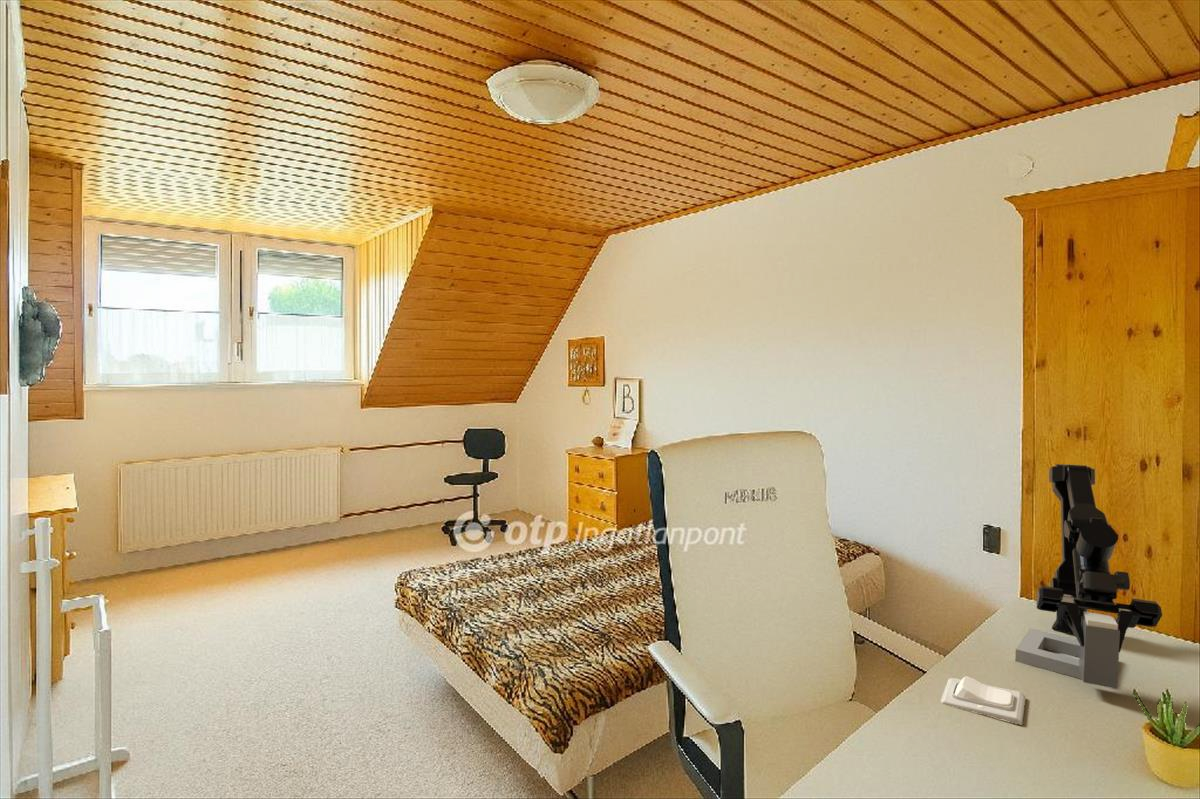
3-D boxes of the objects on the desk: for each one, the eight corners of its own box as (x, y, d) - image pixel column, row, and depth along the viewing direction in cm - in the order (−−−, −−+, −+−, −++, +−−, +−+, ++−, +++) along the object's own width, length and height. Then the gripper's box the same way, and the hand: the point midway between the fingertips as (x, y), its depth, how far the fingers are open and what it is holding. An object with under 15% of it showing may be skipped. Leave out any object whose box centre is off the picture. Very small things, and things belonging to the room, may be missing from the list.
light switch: (947, 664, 126) (1024, 680, 119) (948, 685, 127) (1025, 701, 119) (938, 688, 118) (1021, 706, 110) (939, 710, 118) (1022, 729, 110)
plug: (1078, 670, 124) (1081, 610, 123) (1111, 676, 121) (1114, 615, 121) (1083, 682, 120) (1086, 620, 119) (1117, 688, 117) (1120, 625, 116)
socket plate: (1029, 638, 143) (1029, 626, 143) (1108, 658, 134) (1109, 646, 133) (1015, 660, 133) (1015, 647, 133) (1099, 684, 124) (1100, 670, 123)
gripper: (1040, 546, 127) (1044, 621, 118) (1162, 560, 118) (1177, 642, 109) (1034, 572, 134) (1038, 644, 125) (1148, 587, 125) (1161, 666, 116)
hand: (1100, 648), depth 119 cm, fingers closed on plug, 5 cm apart
